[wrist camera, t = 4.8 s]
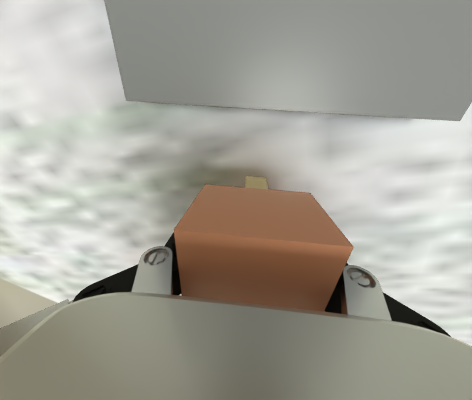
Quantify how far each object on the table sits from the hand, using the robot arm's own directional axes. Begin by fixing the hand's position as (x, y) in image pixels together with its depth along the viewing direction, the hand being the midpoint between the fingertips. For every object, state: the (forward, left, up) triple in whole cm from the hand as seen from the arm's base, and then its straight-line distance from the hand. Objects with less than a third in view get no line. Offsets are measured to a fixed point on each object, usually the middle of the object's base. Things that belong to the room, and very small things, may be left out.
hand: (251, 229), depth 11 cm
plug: (0, 0, -2) cm, 2 cm away
